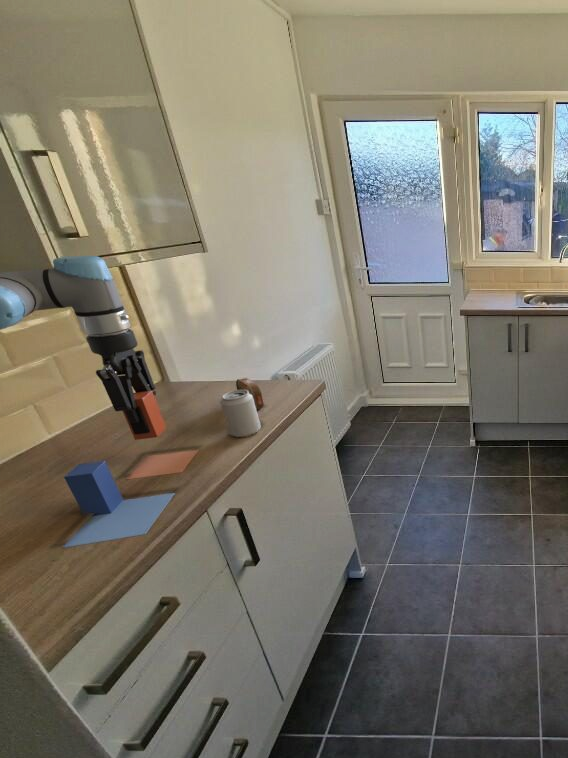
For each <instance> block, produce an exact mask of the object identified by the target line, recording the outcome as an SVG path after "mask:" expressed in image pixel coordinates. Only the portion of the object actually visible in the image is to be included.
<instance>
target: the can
mask: <svg viewBox="0 0 568 758" xmlns="http://www.w3.org/2000/svg"><path fill="white" fill-rule="evenodd" d="M220 406H221V409H222V412H223V415H224V418H225V421H226V425H227V428H228V431H229V435H231V436H232V437H235V436H236V437H235V438H238V437H242V438H247V437H246V436H248V437H251V436H253V435H256V434H257V433H258V432H259V430H260V429H261V427H262V425H261V421H260V417H259V414H258V410H256V407H255V403H254V399H253V396H252V395H251V394H249V391H247V390H237V389H235V390H231V391H228V392H226V393H224V394H223V395H222V396H221V401H220ZM256 432H257V433H256ZM252 434H253V435H252ZM250 435H251V436H250Z"/></svg>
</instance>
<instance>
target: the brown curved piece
mask: <svg viewBox="0 0 568 758" xmlns="http://www.w3.org/2000/svg"><path fill="white" fill-rule="evenodd" d="M235 386H236V390H247V391H249V394H251V395H252V396H253V399H254V403H255V407H256V410H257V411H258V410H261V409H264V404H265V403H264V399H263V393H262V390H261V388H260V386H259V385H258V384H257V383H255V382H254V381H252V380H251V379H249V378H247V377H245V378H244V377H243V378H237V379H236V382H235Z"/></svg>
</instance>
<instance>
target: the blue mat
mask: <svg viewBox="0 0 568 758" xmlns="http://www.w3.org/2000/svg"><path fill="white" fill-rule="evenodd" d="M175 494H176V492H171V493H163V494H157V495H150V496H143V497H137V498H130V499H123V501H122V502H121V503H120V504H119V505H118V506H117V507H116V508H115V510H114V511H113V512H112V513H109V514H103V515H96V516H92V515H91V516H90V517H89V518H88V519H87V520H86V521H85V523H84V524H82V526H81V527H80V528H79V529H78V530H77V531H76V532H75V533H74V534H73V535H72V537H71V538H69V540H68V541H67V542H66V543H65V544H64V545H63V546H62V547H61V549H66V548H71V547H78V546H84V545H89V544H95V543H101V542H108V541H114V540H119V539H126V538H127V539H128V538H131V537H133V538H134V537H139V536H144V535H146V534H147V533H148V531H149V530H150V529H151V527H152V526H153V525H154V523H155V522H156V520H157V519H158V518H159V516H160V514H162V512H163V511H164V509H166V506H167V505H169V502H170V501H171V500H172V499H173V497H174V496H175Z"/></svg>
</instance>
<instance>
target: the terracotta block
mask: <svg viewBox="0 0 568 758" xmlns="http://www.w3.org/2000/svg"><path fill="white" fill-rule="evenodd" d="M153 392H154V391H153V390H152V391H145V392H135V391H134V392H133V393H134V397H135V401H136V405H137V407H139V406H140V408H141V410H142V413H143V415H144V417H145V420H146V422H147V425H148V427H149V430H150V432H149V433H144V434H134V432H133V429H132V427H131V425H130V422H129V421H128V418H127V416H126V414H125V412H124V411H122V413H123V416H124V418H125V420H126V423H127V425H128V427H129V430H130V432H131V434H132V437H133V439H134V440H135V441H137V440H145V439H155V438H159V437H160V436H161V435H162V433H163V432H164V431H166V429H167V425H166V422H165V420H164V417H163V415H162V413H161V409H160V406H159V405H158V401H157V400H156V397H155V395H154V394H153Z"/></svg>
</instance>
